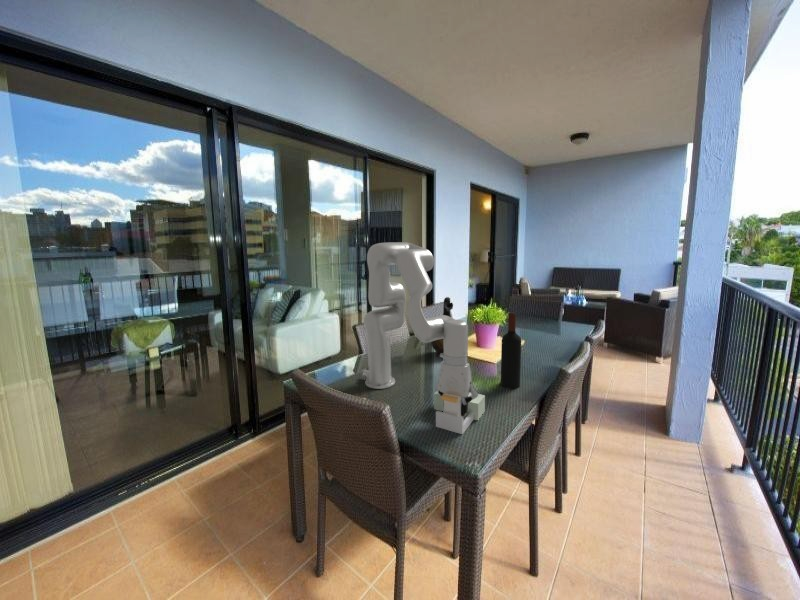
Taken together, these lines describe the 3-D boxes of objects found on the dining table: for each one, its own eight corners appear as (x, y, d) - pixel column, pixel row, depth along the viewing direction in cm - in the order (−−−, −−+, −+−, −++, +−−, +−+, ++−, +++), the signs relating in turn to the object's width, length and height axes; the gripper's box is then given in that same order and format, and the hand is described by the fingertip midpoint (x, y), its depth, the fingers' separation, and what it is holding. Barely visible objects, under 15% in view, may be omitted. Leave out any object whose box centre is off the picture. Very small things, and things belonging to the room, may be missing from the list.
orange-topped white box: (441, 423, 108) (441, 396, 106) (452, 410, 115) (452, 385, 114) (455, 427, 105) (456, 400, 104) (466, 414, 113) (466, 389, 111)
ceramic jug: (463, 359, 170) (463, 300, 165) (432, 359, 170) (431, 301, 165) (458, 348, 187) (458, 294, 182) (430, 349, 187) (429, 295, 182)
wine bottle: (497, 385, 139) (498, 313, 134) (506, 379, 144) (508, 310, 139) (514, 390, 134) (516, 315, 129) (523, 384, 139) (525, 312, 134)
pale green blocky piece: (420, 422, 112) (420, 393, 110) (442, 401, 126) (442, 375, 125) (466, 435, 104) (467, 405, 102) (484, 411, 118) (485, 384, 116)
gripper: (426, 358, 109) (426, 410, 112) (477, 367, 100) (476, 424, 103) (436, 351, 115) (436, 401, 118) (485, 359, 106) (484, 413, 110)
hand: (455, 411), depth 111 cm, fingers closed on orange-topped white box, 5 cm apart
